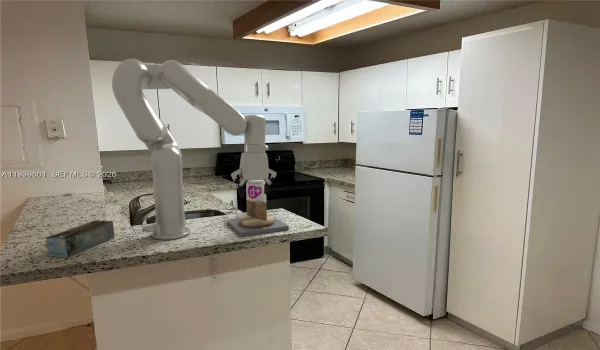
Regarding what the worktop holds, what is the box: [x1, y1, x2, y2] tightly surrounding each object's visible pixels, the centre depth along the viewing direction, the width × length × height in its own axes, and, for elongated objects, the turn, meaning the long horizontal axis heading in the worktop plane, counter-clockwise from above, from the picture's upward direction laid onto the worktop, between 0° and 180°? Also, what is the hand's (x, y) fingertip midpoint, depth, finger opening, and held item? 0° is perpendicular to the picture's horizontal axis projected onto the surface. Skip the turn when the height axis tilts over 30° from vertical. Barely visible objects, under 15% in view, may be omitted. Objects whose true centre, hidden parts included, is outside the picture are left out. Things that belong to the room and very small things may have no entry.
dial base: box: [226, 216, 290, 238], centre depth 135 cm, size 18×18×2 cm
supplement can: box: [245, 180, 267, 203], centre depth 151 cm, size 8×8×15 cm
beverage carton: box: [45, 219, 115, 258], centre depth 114 cm, size 8×19×7 cm, turn 165°
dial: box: [238, 199, 275, 227], centre depth 134 cm, size 13×13×8 cm
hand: (254, 195), depth 133 cm, fingers open, 9 cm apart
